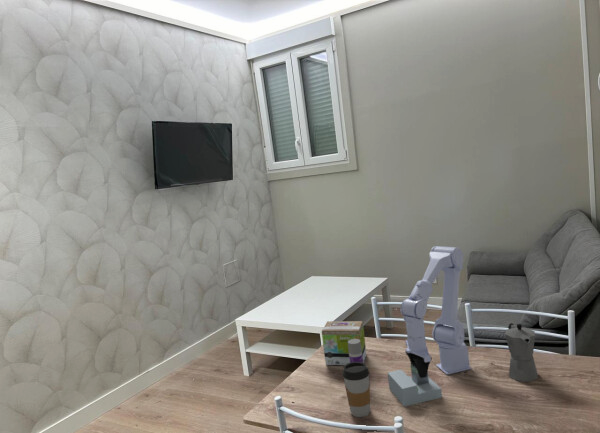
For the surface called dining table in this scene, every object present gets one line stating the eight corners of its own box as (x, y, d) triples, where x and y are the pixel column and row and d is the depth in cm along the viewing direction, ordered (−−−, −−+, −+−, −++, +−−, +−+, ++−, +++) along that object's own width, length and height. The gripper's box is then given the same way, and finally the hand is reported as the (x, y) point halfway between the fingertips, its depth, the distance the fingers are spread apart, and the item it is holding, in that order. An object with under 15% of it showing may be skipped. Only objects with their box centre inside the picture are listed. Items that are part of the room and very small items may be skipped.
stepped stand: (424, 380, 159) (422, 364, 158) (442, 397, 147) (440, 379, 146) (389, 389, 156) (387, 372, 156) (404, 406, 145) (402, 388, 144)
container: (365, 384, 162) (360, 343, 160) (351, 384, 163) (346, 344, 161) (365, 377, 166) (361, 338, 165) (353, 378, 167) (348, 338, 166)
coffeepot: (547, 383, 147) (543, 330, 144) (516, 386, 147) (512, 333, 145) (526, 362, 162) (522, 313, 160) (499, 365, 163) (494, 316, 160)
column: (423, 377, 155) (421, 360, 154) (429, 382, 151) (427, 365, 150) (412, 379, 154) (410, 363, 154) (417, 385, 150) (415, 368, 150)
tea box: (325, 366, 180) (320, 330, 178) (331, 354, 189) (326, 320, 188) (363, 366, 175) (358, 329, 174) (367, 354, 185) (362, 319, 183)
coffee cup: (345, 407, 149) (339, 363, 147) (370, 402, 150) (365, 359, 148) (350, 421, 141) (344, 375, 139) (376, 416, 141) (371, 370, 139)
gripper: (395, 329, 157) (400, 367, 159) (414, 345, 143) (419, 386, 145) (414, 325, 159) (418, 363, 160) (435, 340, 144) (439, 381, 146)
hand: (420, 373), depth 153 cm, fingers closed on column, 4 cm apart
